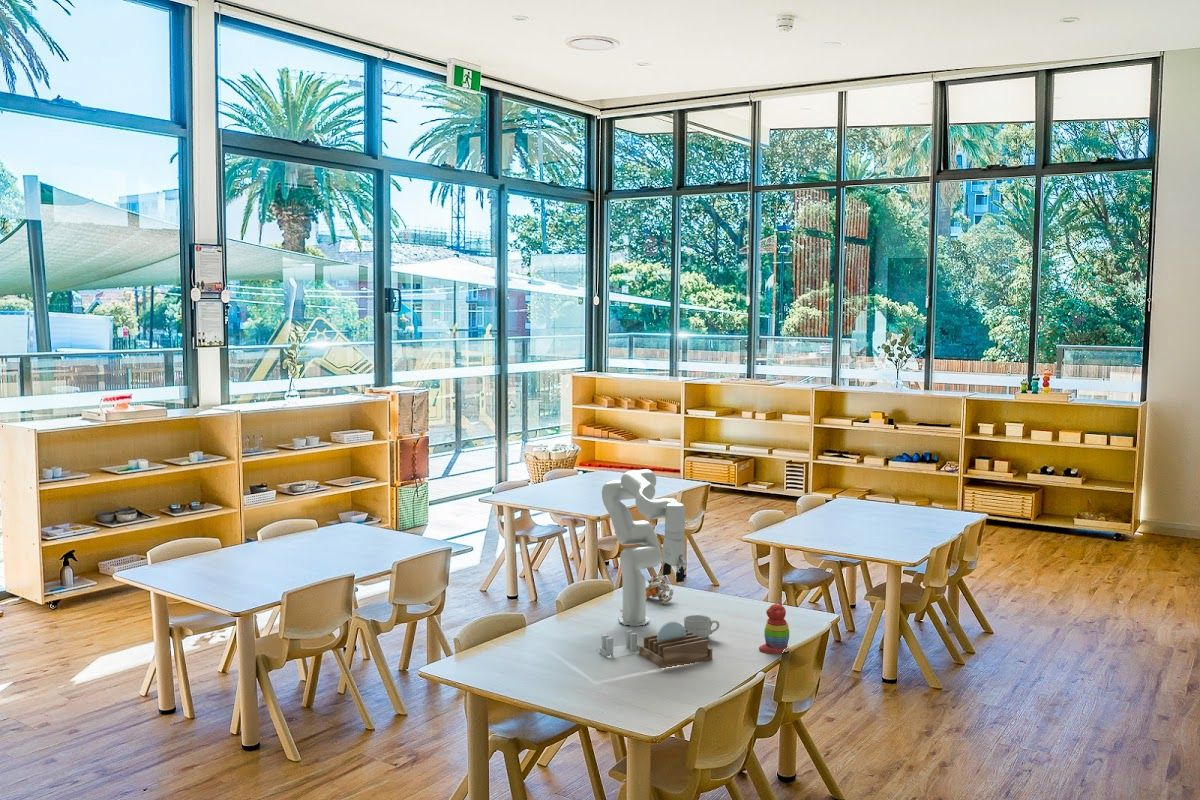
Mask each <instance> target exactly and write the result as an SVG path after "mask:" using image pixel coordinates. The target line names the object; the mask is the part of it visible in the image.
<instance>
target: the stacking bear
mask: <svg viewBox="0 0 1200 800" xmlns="http://www.w3.org/2000/svg"><path fill="white" fill-rule="evenodd" d="M765 613H766V616H767V617H768V619H767V620H766V622H765V627H764V631H763V632H764V634H763V635H764V641H765V643H764V644H762V645H760V646H759V647H758V650H759V651H760V652H762V653H766V654H773V655H782V652H783V650H784V649H786V648H787V647H788V648H789V645H788V643H789V640H790V628H789V624H788V622H787V620H786V619H785V618H786V614H787V611H786V608H785V607H784V606H783V604H782V603H781V602H779V603H774V604H772V605H770V607H768V609H766V610H765ZM759 651H758V652H759Z"/></svg>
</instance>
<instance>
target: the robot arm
mask: <svg viewBox="0 0 1200 800" xmlns="http://www.w3.org/2000/svg"><path fill="white" fill-rule="evenodd" d="M656 484H657V477H656V474H655V473H654V472H653V471H652V470H651V469H648V468H646V469H645V468H644V469H637V470H629V471H626V472H625V473H623V474H622V475H621V478H620V479H615V480H614V479H613V480H611V481H608V482H606V483H604V485H603V486H602V488H601V500H602V502H603V505H604V507H605V509H606V511H607V512H608V514H609V516H610V520H611V522H612V527H613V529H614V533H615V536H616V538H617V541H618V543H619V544H620V545H622V546H628V547H625V548H624V549H623V550H622V551H620V555H619V561H620V566H621V575H622V576H621V578H622V608H621V609H620V613H622V614H621V615H622V616H620V617H618V623H619V622H620V623H622V624H625V625H624V626H626V625H630V626H629V627H640V626H639V625H643V626H646V625H648V624H649V623H650V618H649V617H648V616H647V615H646V612H647V611H646V610H647V609H646V604H647V601H646V600H647V598H646V587H647V586H646V585H647V583H646V581H647V580H646V578H645V576H644V574H643V573H642V572H641V570H644V569H651V568H655V567H658V566H659V565H660V564H661V563H662V576H663V575H664V576H669V575H671V574H672V567H673V568H674V567H675V568H676V572H675V573H676V574H675V579H676V580H675V582H676V583H682V582H685V572H686V569H687V567H688V562H687V561H686V553H685V552H686V548H685V547H686V546H685V533H686V531H685V529H686V528H685V525H686V522H685V521H686V506H685V504H684V503H681V502H678V501H677V499H675V498H672V497H666V498H657V499H653V498H654V496H655V495H656ZM634 499H635V506H636V508H637V511H638V512H639V513H640V514H641V515H642V516H643V517H644V518H646V519H649V520H657V519H658V520H659V519H664V537H663V543H662V549H661V548H660V545H659V541H658V539H657V535H656V533H655V530H654V527H653V526H652V524H651V522H649V521H648V520H645V519H643V520H634V519H633V516H632V513H631V511H630V509H629V507H628V506H626V505H625V504H624V503H623V502H622V501H624V500H626V501H627V500H634ZM638 544H640V545H638ZM632 545H634V546H632ZM661 550H662V551H661ZM620 623H619V624H620ZM647 623H648V624H647ZM622 624H621V625H622ZM645 624H646V625H645Z"/></svg>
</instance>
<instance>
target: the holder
mask: <svg viewBox="0 0 1200 800" xmlns="http://www.w3.org/2000/svg"><path fill="white" fill-rule="evenodd" d="M639 646H641V645H640V644H639V643H638V632H634V631H633V630H632V629H630V630H625V644H624V645H617V646H614V637H612V636H610V635H609V634H601V646H600V647H598V650H599V652H600V653H601V654H600V653H599V654H600V655H602V654H603V655H604V656H603V655H602V656H603V657H605V656H610V655H611V657H614V658H613V659H615V658H619V657H620V658H621V657H624V656H629V655H635V654H639Z"/></svg>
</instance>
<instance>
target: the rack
mask: <svg viewBox="0 0 1200 800" xmlns="http://www.w3.org/2000/svg"><path fill="white" fill-rule="evenodd" d="M685 631H686V636H685V637H679V638H674V639H669V640H664V641H658V642H657V635H658V634H652V635H648V636H643V645H640V646H639V653H638V655H640V656H642V657H643V658H645V659H646V660H648V661H650V662H651V663H654V664H656V665H657V666H659V668H660V667H661V668H666V667H672V666H677V665H684V664H689V665H691V664H690V663H693V664H696V663H695V662H698V663H702V662H701V661H703V662H706V661H705V660H708V661H712V660H713V648H711V647H709V640H708V639H703V637H698V635H697V634H695V635H693V632H688V630H687V629H685ZM711 659H712V660H711ZM684 666H685V665H684Z"/></svg>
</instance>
